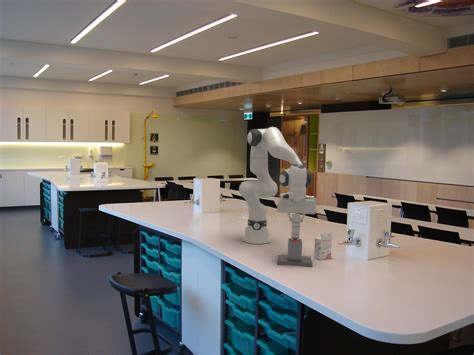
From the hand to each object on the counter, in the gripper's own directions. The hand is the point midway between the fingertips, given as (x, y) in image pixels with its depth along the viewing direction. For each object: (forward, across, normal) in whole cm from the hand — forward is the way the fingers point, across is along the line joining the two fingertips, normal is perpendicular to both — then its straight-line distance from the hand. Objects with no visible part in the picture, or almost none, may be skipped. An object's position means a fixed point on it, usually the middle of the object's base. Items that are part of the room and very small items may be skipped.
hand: (295, 221), depth 224 cm
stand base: (+22, 0, 0) cm, 22 cm away
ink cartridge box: (+22, -16, -12) cm, 30 cm away
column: (+14, 0, 0) cm, 14 cm away
